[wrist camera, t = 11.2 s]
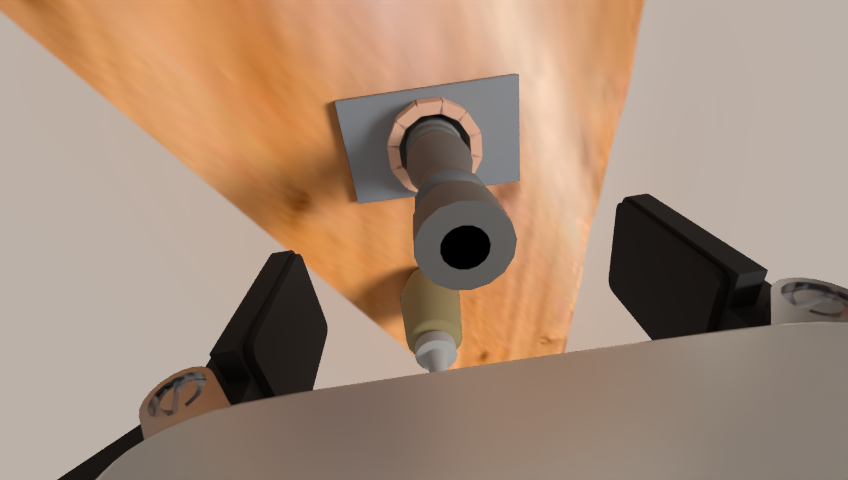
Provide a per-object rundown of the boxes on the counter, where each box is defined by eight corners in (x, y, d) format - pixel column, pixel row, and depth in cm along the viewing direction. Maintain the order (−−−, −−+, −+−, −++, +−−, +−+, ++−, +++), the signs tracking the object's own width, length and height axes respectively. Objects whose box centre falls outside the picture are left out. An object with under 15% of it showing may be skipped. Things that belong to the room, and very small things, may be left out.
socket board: (515, 73, 41) (528, 77, 36) (516, 177, 46) (528, 190, 42) (336, 100, 41) (328, 106, 37) (359, 199, 47) (355, 215, 42)
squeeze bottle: (397, 260, 51) (396, 357, 35) (455, 256, 51) (479, 350, 35) (402, 306, 55) (402, 412, 39) (456, 302, 55) (478, 406, 39)
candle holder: (451, 172, 44) (501, 301, 22) (400, 162, 43) (399, 285, 21) (465, 120, 41) (538, 207, 19) (411, 108, 40) (422, 184, 18)
